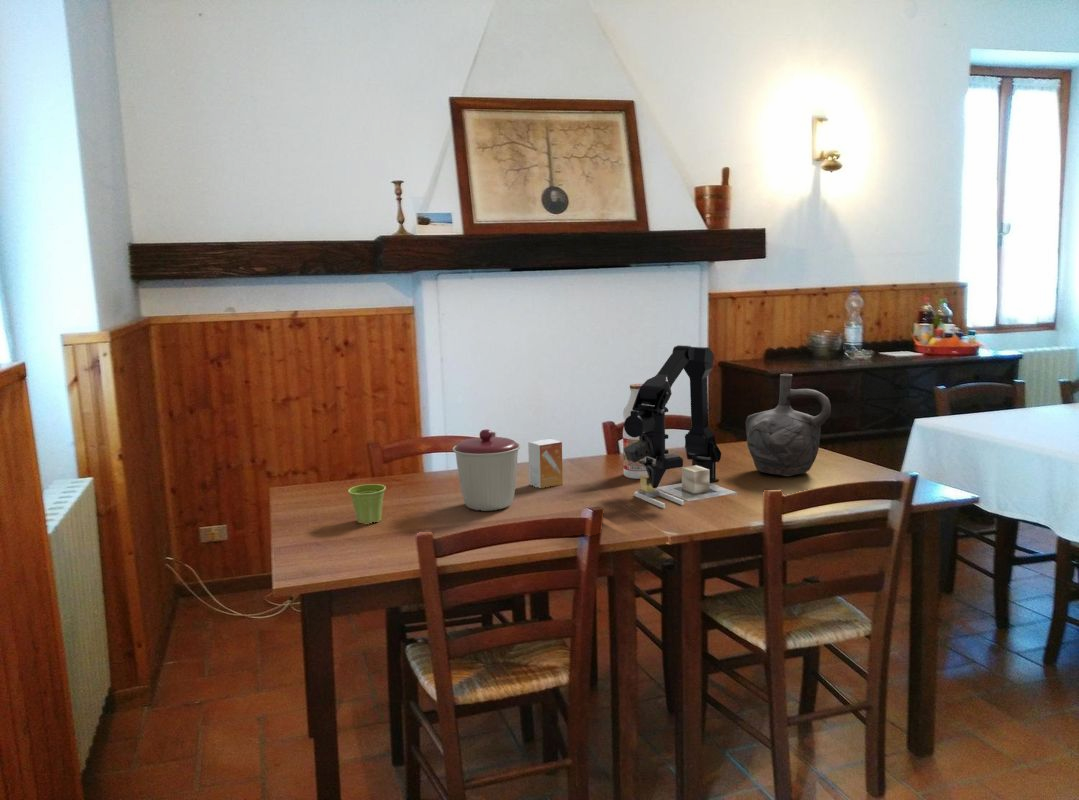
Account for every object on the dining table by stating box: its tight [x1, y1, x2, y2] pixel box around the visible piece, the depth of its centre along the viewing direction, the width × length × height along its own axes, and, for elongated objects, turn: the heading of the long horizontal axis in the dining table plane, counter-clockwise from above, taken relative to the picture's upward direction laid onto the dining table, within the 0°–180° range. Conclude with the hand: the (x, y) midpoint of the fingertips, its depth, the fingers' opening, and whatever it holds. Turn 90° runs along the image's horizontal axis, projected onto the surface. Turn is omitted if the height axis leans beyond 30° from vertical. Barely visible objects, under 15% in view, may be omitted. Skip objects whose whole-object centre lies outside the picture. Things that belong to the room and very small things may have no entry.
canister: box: [452, 429, 521, 512], centre depth 221 cm, size 18×18×21 cm
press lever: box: [636, 474, 660, 498], centre depth 224 cm, size 4×4×6 cm
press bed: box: [656, 482, 738, 502], centre depth 228 cm, size 16×16×1 cm
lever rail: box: [634, 489, 685, 509], centre depth 220 cm, size 7×14×2 cm, turn 25°
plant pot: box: [347, 483, 387, 524], centre depth 211 cm, size 9×9×9 cm
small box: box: [527, 438, 564, 489], centre depth 242 cm, size 8×6×13 cm
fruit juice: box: [622, 383, 648, 480], centre depth 249 cm, size 9×9×28 cm
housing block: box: [681, 465, 711, 493], centre depth 228 cm, size 5×6×6 cm
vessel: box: [745, 373, 832, 477], centre depth 246 cm, size 24×22×30 cm
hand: (654, 487), depth 221 cm, fingers closed
